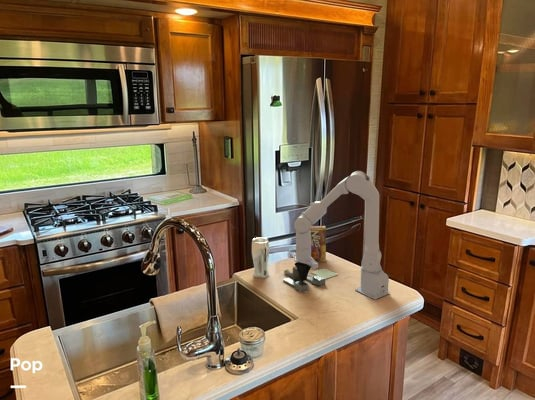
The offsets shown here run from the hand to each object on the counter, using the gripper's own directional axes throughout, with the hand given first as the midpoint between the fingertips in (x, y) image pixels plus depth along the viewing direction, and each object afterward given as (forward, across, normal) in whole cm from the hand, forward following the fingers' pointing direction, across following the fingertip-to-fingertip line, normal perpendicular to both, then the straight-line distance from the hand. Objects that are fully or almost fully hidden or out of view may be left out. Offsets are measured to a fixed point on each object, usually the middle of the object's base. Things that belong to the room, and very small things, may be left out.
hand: (303, 280), depth 154 cm
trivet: (+1, -2, +12) cm, 12 cm away
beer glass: (+1, -16, -9) cm, 18 cm away
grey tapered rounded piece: (+1, -6, 0) cm, 7 cm away
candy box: (+1, -15, +19) cm, 24 cm away
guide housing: (+1, 0, 0) cm, 1 cm away
